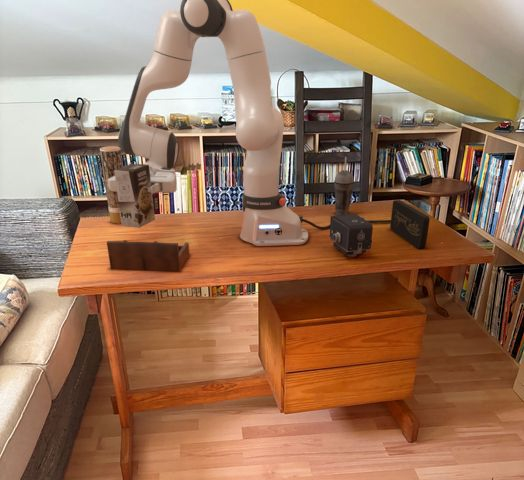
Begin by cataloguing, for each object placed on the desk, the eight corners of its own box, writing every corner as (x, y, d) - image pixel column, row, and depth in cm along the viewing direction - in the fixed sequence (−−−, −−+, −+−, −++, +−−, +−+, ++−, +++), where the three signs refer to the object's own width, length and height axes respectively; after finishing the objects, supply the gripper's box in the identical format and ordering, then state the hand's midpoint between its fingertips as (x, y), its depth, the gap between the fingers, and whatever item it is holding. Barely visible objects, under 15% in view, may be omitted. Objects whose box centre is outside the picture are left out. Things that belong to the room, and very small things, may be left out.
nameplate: (389, 228, 184) (393, 199, 179) (394, 228, 185) (398, 199, 179) (419, 249, 167) (424, 217, 162) (425, 249, 167) (430, 217, 162)
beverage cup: (331, 216, 197) (335, 159, 187) (332, 210, 203) (336, 155, 193) (351, 216, 196) (356, 159, 186) (351, 211, 202) (356, 155, 192)
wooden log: (132, 218, 195) (123, 146, 182) (126, 224, 189) (116, 150, 176) (114, 218, 195) (103, 146, 183) (107, 224, 190) (96, 149, 177)
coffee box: (140, 228, 156) (132, 171, 147) (121, 226, 157) (112, 169, 149) (156, 219, 163) (149, 164, 155) (137, 217, 165) (130, 162, 157)
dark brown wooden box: (189, 255, 163) (187, 229, 159) (179, 271, 152) (177, 244, 148) (125, 252, 165) (121, 227, 161) (110, 269, 153) (106, 242, 149)
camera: (374, 261, 161) (351, 240, 172) (380, 225, 154) (356, 206, 166) (342, 265, 158) (321, 244, 169) (347, 229, 151) (325, 209, 163)
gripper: (115, 167, 166) (99, 178, 155) (179, 169, 165) (168, 180, 153) (117, 188, 170) (102, 200, 158) (181, 189, 168) (170, 202, 156)
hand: (135, 190), depth 155 cm, fingers closed on coffee box, 7 cm apart
